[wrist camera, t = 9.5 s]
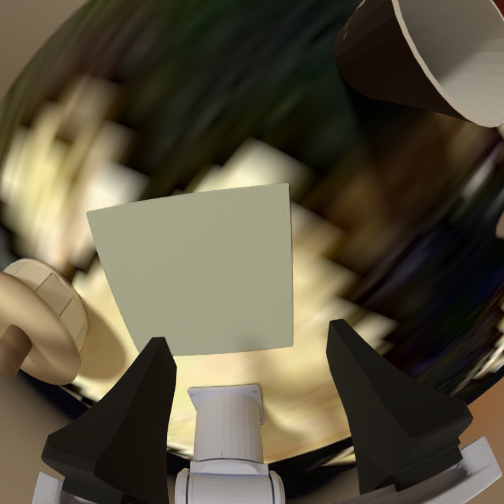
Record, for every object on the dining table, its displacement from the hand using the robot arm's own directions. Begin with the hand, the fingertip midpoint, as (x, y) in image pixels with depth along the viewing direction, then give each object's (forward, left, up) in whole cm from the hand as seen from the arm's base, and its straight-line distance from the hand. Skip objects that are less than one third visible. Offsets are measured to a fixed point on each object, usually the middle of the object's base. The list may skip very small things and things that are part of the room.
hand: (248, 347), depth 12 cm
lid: (-4, +21, -5) cm, 22 cm away
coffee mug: (+14, -12, -10) cm, 21 cm away
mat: (-3, +4, -10) cm, 11 cm away
